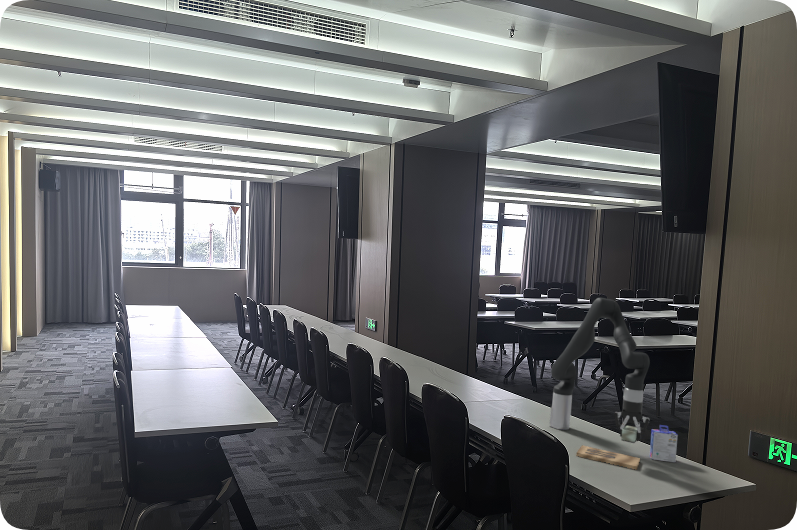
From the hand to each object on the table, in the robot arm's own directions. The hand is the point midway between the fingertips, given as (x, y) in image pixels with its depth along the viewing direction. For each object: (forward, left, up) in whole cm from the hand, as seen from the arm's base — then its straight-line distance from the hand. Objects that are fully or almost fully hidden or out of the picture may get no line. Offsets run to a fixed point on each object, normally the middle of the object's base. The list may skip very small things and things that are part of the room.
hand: (630, 439), depth 232 cm
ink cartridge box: (+12, +17, -11) cm, 23 cm away
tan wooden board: (-8, 0, -10) cm, 13 cm away
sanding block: (0, 0, 0) cm, 0 cm away
